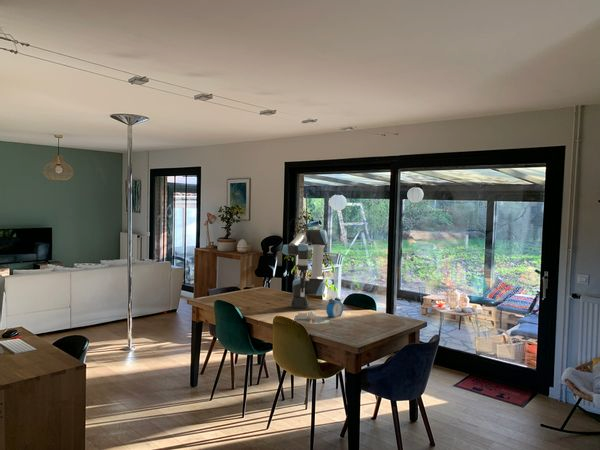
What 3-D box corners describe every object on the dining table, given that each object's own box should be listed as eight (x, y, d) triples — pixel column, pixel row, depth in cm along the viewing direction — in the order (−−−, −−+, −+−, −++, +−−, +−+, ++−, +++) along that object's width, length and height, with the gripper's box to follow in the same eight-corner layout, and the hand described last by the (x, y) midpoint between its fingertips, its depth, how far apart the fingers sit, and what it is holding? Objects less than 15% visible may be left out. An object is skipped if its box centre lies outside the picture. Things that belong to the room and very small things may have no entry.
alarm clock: (332, 320, 340) (332, 299, 339) (325, 318, 344) (325, 298, 344) (343, 317, 349) (343, 297, 349) (336, 315, 354) (337, 296, 353)
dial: (298, 318, 338) (298, 309, 338) (316, 318, 337) (316, 310, 337) (296, 323, 323) (296, 314, 323) (314, 324, 322) (314, 315, 321)
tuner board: (295, 317, 347) (295, 315, 347) (330, 318, 344) (330, 316, 344) (291, 325, 323) (291, 323, 323) (329, 327, 320) (329, 324, 320)
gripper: (298, 263, 346) (298, 294, 347) (296, 265, 333) (296, 298, 334) (308, 263, 346) (308, 295, 346) (307, 265, 333) (306, 298, 333)
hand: (302, 296), depth 340 cm, fingers closed
